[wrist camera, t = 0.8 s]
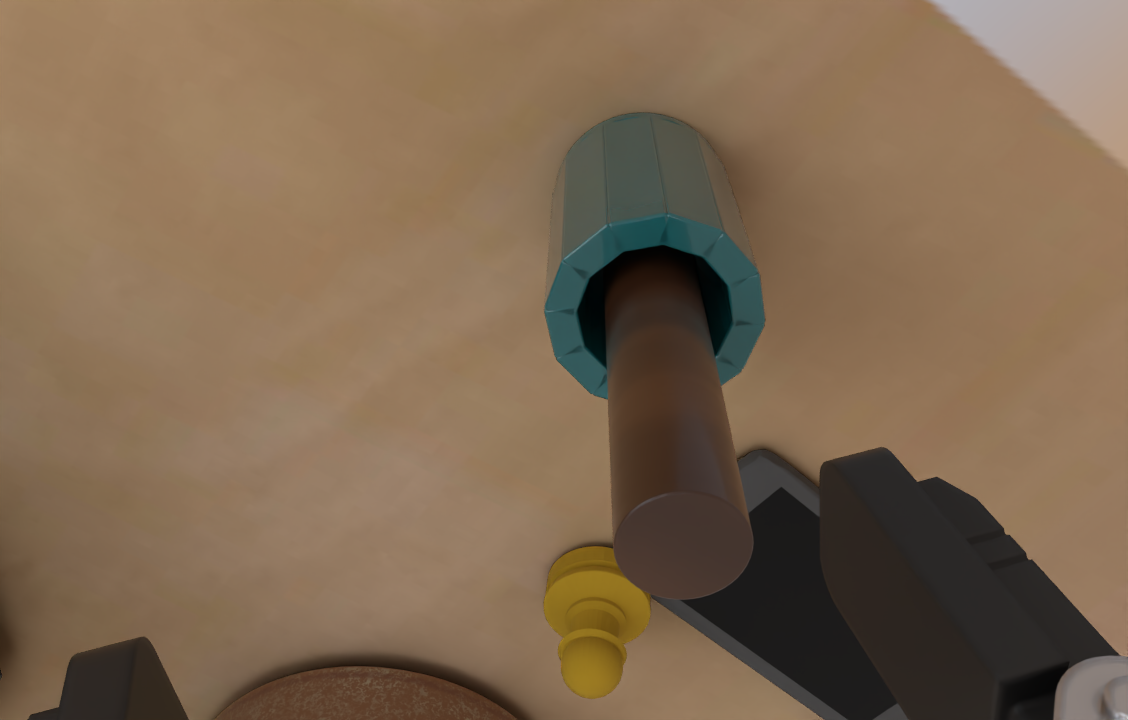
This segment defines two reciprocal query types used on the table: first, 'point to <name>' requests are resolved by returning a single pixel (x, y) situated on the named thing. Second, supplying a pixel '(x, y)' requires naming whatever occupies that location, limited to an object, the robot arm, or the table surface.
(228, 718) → the planter
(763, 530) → the cell phone
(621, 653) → the chess piece
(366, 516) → the table surface
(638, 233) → the holder
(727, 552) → the stick
